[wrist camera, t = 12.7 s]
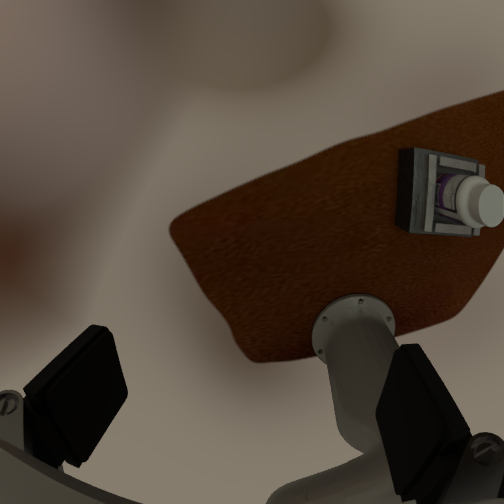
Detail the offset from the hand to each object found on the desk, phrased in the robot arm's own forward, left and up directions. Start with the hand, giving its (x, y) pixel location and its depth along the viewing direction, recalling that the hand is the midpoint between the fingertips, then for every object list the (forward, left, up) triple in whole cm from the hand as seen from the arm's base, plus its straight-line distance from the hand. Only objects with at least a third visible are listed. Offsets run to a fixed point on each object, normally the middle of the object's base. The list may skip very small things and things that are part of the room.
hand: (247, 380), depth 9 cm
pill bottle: (+5, -21, -26) cm, 33 cm away
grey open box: (+5, -21, -30) cm, 37 cm away
